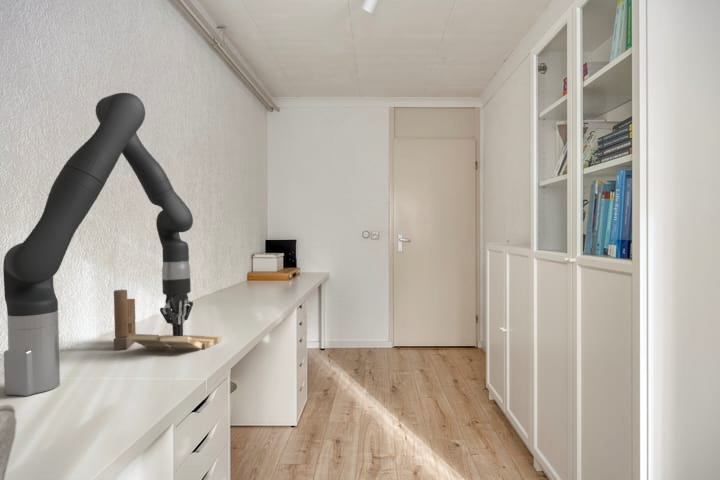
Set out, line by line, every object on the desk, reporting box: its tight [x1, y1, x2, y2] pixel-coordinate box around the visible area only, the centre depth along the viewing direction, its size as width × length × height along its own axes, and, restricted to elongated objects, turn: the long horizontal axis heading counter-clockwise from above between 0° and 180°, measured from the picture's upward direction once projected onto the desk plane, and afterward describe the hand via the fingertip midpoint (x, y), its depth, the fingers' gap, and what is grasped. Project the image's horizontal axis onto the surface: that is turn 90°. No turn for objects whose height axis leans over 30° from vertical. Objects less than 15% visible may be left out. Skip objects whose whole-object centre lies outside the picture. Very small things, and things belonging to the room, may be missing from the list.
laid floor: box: [148, 334, 222, 350], centre depth 139 cm, size 10×20×2 cm, turn 79°
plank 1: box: [129, 333, 172, 349], centre depth 131 cm, size 8×9×2 cm
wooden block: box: [113, 289, 137, 351], centre depth 138 cm, size 4×11×18 cm, turn 13°
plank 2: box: [160, 335, 202, 350], centre depth 129 cm, size 8×9×2 cm
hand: (178, 336), depth 127 cm, fingers closed
